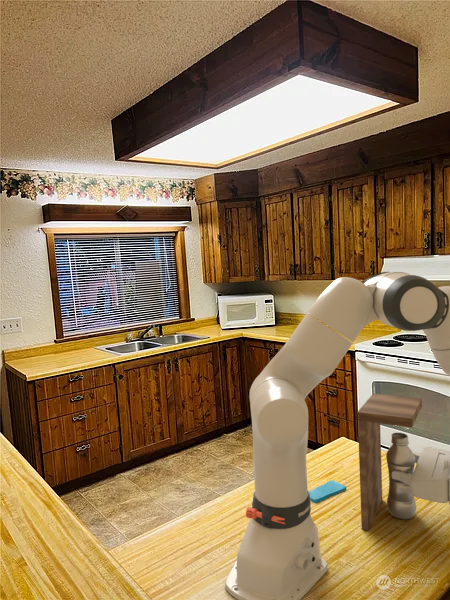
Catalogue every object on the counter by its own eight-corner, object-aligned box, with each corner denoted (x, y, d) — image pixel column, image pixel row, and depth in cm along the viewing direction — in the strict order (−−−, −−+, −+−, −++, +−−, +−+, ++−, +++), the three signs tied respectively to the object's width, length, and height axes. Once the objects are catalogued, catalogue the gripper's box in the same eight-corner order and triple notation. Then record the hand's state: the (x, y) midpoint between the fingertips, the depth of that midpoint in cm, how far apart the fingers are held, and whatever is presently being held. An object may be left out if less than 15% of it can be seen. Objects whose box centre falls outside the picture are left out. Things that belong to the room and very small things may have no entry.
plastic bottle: (397, 504, 114) (395, 428, 112) (422, 516, 108) (420, 435, 106) (381, 514, 110) (379, 434, 108) (406, 526, 104) (404, 443, 103)
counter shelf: (414, 542, 98) (411, 418, 96) (361, 529, 104) (357, 411, 102) (424, 508, 111) (421, 398, 109) (376, 498, 117) (373, 393, 115)
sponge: (299, 492, 121) (314, 498, 116) (331, 479, 128) (347, 484, 123) (300, 498, 121) (314, 504, 116) (332, 484, 128) (347, 490, 123)
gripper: (463, 445, 110) (403, 436, 117) (457, 483, 92) (387, 470, 99) (464, 470, 110) (404, 460, 117) (457, 512, 93) (387, 497, 100)
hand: (396, 465), depth 108 cm, fingers open, 8 cm apart
